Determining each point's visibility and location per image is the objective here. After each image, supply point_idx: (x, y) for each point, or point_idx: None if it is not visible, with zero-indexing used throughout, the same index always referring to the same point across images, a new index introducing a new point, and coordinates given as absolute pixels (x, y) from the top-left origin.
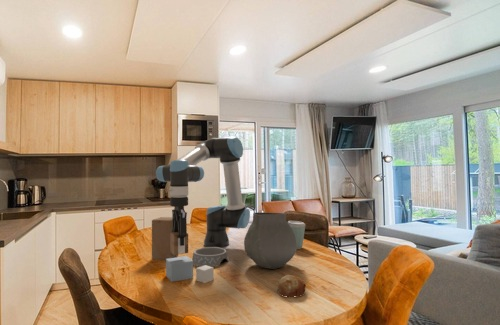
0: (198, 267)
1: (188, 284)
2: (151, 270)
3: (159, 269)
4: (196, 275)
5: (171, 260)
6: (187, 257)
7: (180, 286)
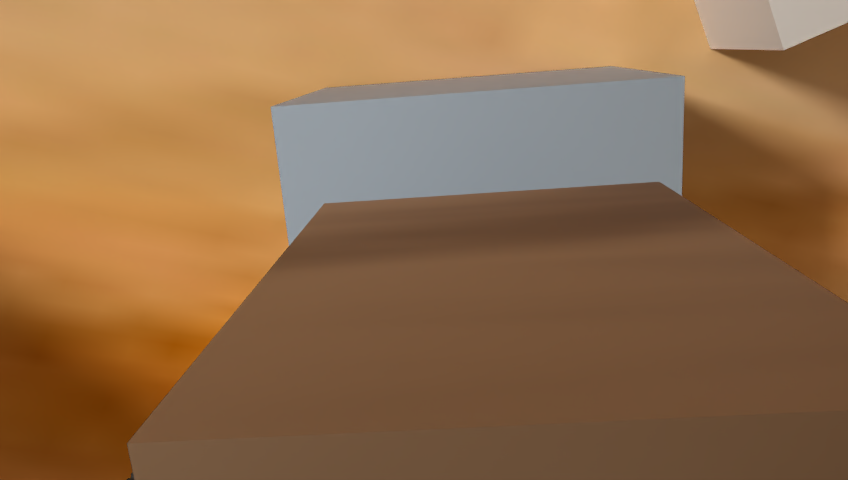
0: (778, 3)
1: (804, 176)
2: (97, 461)
3: (88, 377)
4: (742, 46)
5: None
6: (388, 115)
7: (812, 274)
